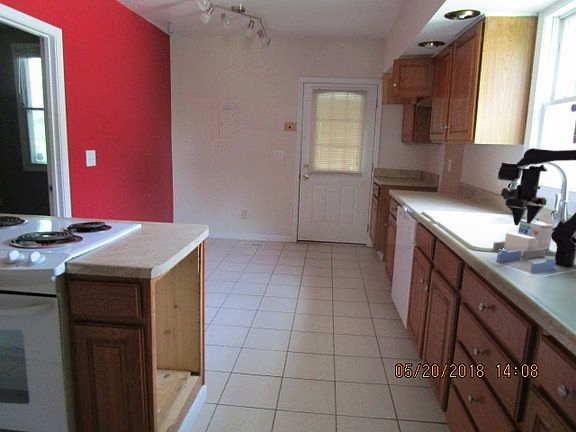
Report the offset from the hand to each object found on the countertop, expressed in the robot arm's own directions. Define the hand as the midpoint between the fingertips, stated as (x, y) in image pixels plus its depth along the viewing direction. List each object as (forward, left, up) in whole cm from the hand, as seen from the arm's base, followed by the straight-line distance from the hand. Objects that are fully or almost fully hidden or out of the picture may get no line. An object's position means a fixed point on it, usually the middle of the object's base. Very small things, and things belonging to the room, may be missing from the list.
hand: (522, 224), depth 147 cm
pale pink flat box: (-2, -1, -12) cm, 12 cm away
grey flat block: (-2, -1, -12) cm, 13 cm away
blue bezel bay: (+11, +10, -12) cm, 19 cm away
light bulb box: (-19, -6, -12) cm, 24 cm away
